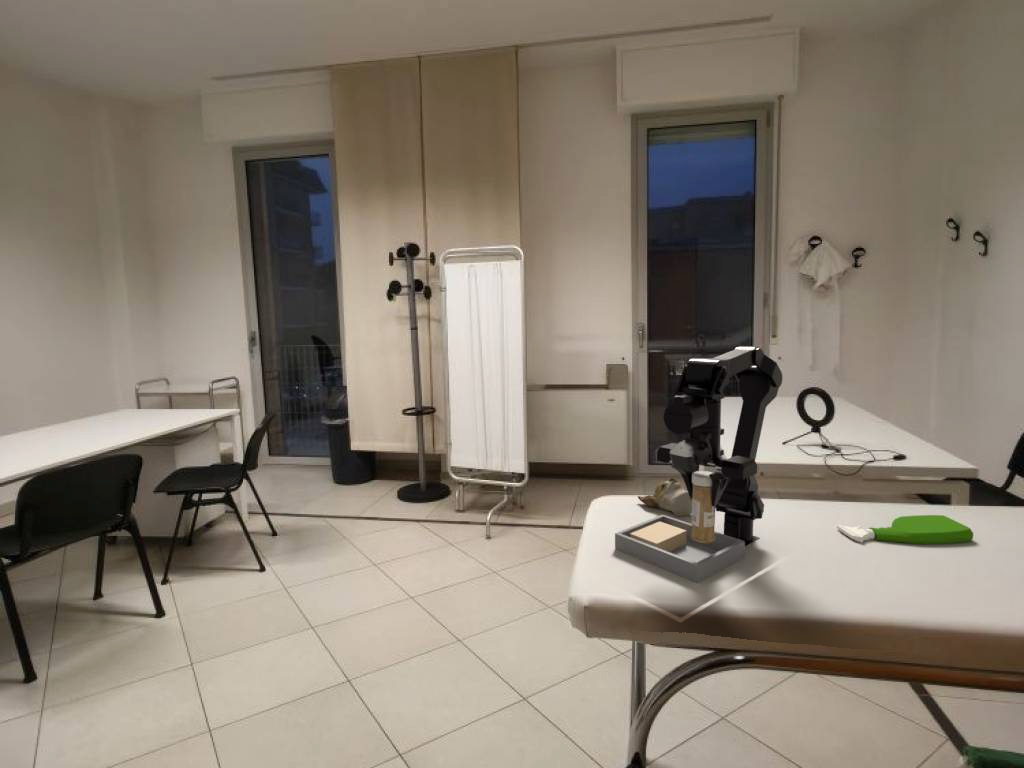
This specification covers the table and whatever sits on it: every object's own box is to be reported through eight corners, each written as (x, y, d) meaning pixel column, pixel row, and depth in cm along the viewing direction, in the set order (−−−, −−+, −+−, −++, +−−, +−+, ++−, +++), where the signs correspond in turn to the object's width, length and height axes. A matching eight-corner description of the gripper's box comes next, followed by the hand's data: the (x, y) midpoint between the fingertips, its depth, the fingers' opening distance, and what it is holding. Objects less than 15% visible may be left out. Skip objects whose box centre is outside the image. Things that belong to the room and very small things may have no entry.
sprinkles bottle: (715, 545, 112) (717, 477, 110) (690, 543, 113) (692, 476, 111) (714, 535, 116) (716, 470, 114) (690, 533, 117) (691, 469, 115)
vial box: (659, 534, 129) (659, 521, 129) (686, 543, 124) (686, 530, 123) (630, 547, 123) (629, 533, 123) (656, 557, 118) (656, 543, 117)
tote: (662, 531, 132) (662, 514, 132) (744, 560, 117) (744, 541, 116) (615, 551, 123) (614, 533, 122) (697, 585, 107) (697, 565, 106)
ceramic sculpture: (673, 488, 135) (634, 475, 149) (674, 524, 136) (635, 508, 150) (709, 481, 140) (668, 469, 153) (709, 516, 140) (668, 501, 154)
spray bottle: (978, 545, 121) (861, 551, 121) (939, 524, 132) (832, 530, 132) (979, 531, 121) (862, 537, 121) (940, 512, 132) (832, 518, 131)
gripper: (638, 424, 113) (639, 501, 115) (727, 440, 99) (725, 527, 101) (672, 415, 120) (672, 488, 122) (759, 429, 106) (757, 510, 108)
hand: (703, 502), depth 113 cm, fingers closed on sprinkles bottle, 4 cm apart
